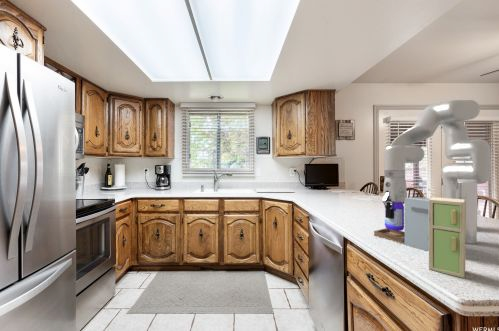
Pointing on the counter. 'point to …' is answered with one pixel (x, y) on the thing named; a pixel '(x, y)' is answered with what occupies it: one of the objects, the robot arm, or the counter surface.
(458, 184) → the grey post
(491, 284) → the counter surface
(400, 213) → the bottle
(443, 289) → the counter surface
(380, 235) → the tray
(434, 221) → the toy refrigerator
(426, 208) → the unit
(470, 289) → the counter surface
